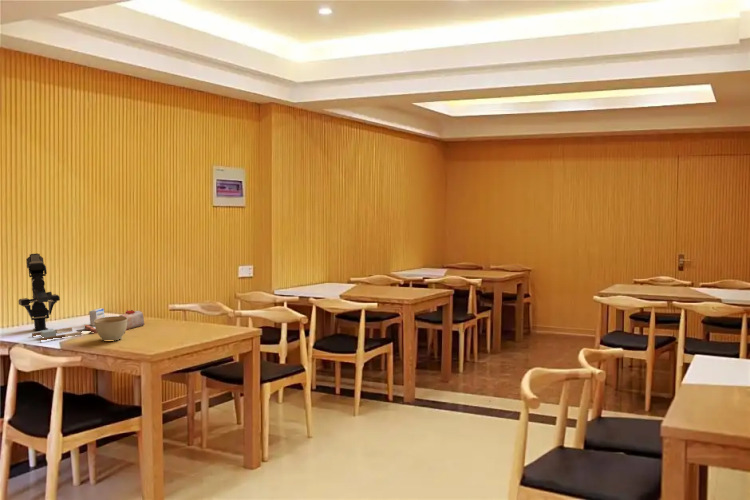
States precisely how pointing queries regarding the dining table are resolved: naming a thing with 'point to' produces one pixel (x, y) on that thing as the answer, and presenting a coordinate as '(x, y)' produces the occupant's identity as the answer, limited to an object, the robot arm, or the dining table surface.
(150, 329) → the dining table surface
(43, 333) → the block
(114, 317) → the planter bowl
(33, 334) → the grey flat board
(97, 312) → the medicine box
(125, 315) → the food item
